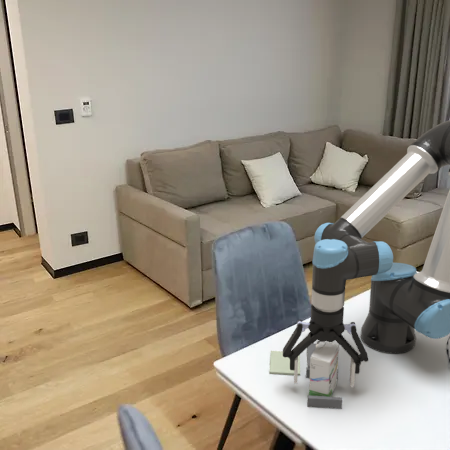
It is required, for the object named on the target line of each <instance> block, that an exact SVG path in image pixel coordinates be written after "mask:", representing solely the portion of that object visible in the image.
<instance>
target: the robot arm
mask: <svg viewBox="0 0 450 450" xmlns="http://www.w3.org/2000/svg"><path fill="white" fill-rule="evenodd" d="M406 150H407V151H406V154H405V155H404V156H403V157H401V159H399V160H398V162H397V163H396V164H395V165H393V167H392V168H391V169H389V171H388V172H386V173H385V174H384V175H383V176H382V177H380V179H379V180H378V181H377V182H376V183H374V185H373V186H372V187H370V188H369V189H368V191H367V192H365V193H364V194H363V195H362V196H361V197H360V198H359V199H358V200H357V201H356V202H355V203H354V204H353V205H352V206H351V207H350V208H349V209H347V210H346V212H344V214H342V215H341V217H339V219H337V220H336V221H335V222H325V223H322V224H321V225H319V227H317V228H316V231H315V232H314V237H313V238H314V243H315V244H314V248H313V256H312V260H311V261H312V280H311V281H312V283H311V285H312V286H311V300H310V301H311V305H310V306H311V307H310V321H309V322H304V321H303V320H302V319H298V320H297V321H296V322H297V323H296V328H294V331H293V332H292V334H291V336H290V337H289V339H288V341H287V342H286V344H285V345H284V347H283V349H282V351H283V357H288V358H289V359H290V370H294V375H293V384H295V385H297V384H298V356H299V355H300V356H301V354H302V353H304V351H305V350H307V347H309V346H310V345H311V344H313V343H314V344H315V342H317V341H319V342H324V341H325V342H328V343H333V342H336V343H337V345H339V346H341V348H342V349H343V350H344V351H345V352H346V354H347V355H348V356H349V357H350V369H349V385H350V387H351V388H355V377H356V375H359V374H360V372H361V371H360V370H361V365H362V362H365V363H367V362H368V361H369V356H368V352H367V350H366V348H365V346H364V344H365V345H366V346H367V347H369V348H371V349H373V350H375V351H378V352H382V353H386V354H405V353H407V352H410V351H411V350H413V348H414V347H415V346H416V339H417V337H416V336H417V335H416V332H417V333H418V334H419V333H420V334H422V335H424V336H425V337H427V338H430V339H433V340H435V339H436V340H437V339H441V338H444V337H447V336H448V335H450V189H449V191H448V192H447V195H446V199H445V201H444V205H443V208H442V210H441V212H440V213H441V214H440V216H439V220H438V223H437V226H436V229H435V232H434V235H433V237H432V240H431V243H430V246H429V249H428V251H427V255H426V258H425V260H424V264H423V266H422V270H421V271H420V272H417V268H416V266H414V265H411V264H408V263H403V262H394V254H393V251H392V249H391V247H390V245H389V244H388V243H386V242H385V241H380V240H379V241H372V242H367V241H366V240H364V239H362V238H364V237H365V235H367V234H368V233H369V232H370V231H371V230H372V229H373V228H374V227H375V226H376V225H377V224H378V223H379V222H380V221H382V220H383V218H385V216H387V214H388V213H390V211H392V210H393V209H394V208H395V207H396V206H397V205H398V204H399V203H400V202H401V201H402V200H403V199H404V198H405V197H406V196H407V195H409V193H410V192H411V191H413V190H414V188H416V187H417V186H418V185H419V184H420V183H421V182H422V181H423V180H425V178H426V177H427V176H428V175H429V174H430V175H431V174H432V175H434V174H436V173H437V172H439V170H440V169H441V168H443V167H445V166H450V119H448V120H446V121H443V122H441V123H439V124H436V125H435V126H433V127H432V128H430V129H428V130H427V131H425V132H424V133H422V134H421V135H420V136H419V137H418V138H417V139H416V140H414V141H413V142H412V143H411V144H410V145H409V146H408V147H407V149H406ZM448 176H450V168H449V169H448ZM365 277H371V278H370V292H369V294H370V295H369V308H368V313H367V316H366V318H365V320H364V322H363V324H362V327H361V331H360V336H359V334H358V332H357V331H358V330H357V325H356V323H355V321H351V322H350V323H348V324H347V323H345V324H344V316H345V315H344V312H345V311H344V310H345V308H344V306H345V297H346V294H345V293H346V285H347V281H348V280H354V279H359V278H365ZM306 329H308V330H309V332H308V334H307V335H306V336H305V337H304V338H303V339H302V340H300V342H298V340H299V339H300V338H301V336H302V333H303V332H305V331H306ZM345 331H347V333H348V334H350V335H351V339H352V340H353V342H354V344H355V346H356V348H357V350H358V352H359V353H358V352H357V350H356V349H355V348H354V347H353V346H352V345H351V344H350V342H349V341H348V340H347V339H346V338H345V337H344V336H343V333H344V332H345ZM415 331H416V332H415ZM363 343H364V344H363ZM296 344H297V345H296ZM295 345H296V346H295ZM355 374H356V375H355Z"/></svg>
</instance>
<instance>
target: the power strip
mask: <svg viewBox="0 0 450 450" xmlns="http://www.w3.org/2000/svg"><path fill="white" fill-rule="evenodd" d="M319 343H320V342H319V340H316V343H315V342H314V343H313V344H311V345H310V346H309V347H307V348H306V362H307V364H306V365H307V366H306V368H305V378H306V379H307V378H308V379H310V358H311V355H312V354H313V352H314V351H315V349H316V347H317V346H318V344H319ZM338 378H339V369H338V370H337V380H339V379H338ZM306 402H307V404H306V405H307V408H318V409H319V408H320V409H335V410H337V409H338V410H342V409H343V397H342V396H341V397H338V396H331V397H326V396H309V394H308V395H307V401H306Z"/></svg>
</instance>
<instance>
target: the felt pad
mask: <svg viewBox="0 0 450 450" xmlns="http://www.w3.org/2000/svg"><path fill="white" fill-rule="evenodd" d="M269 358H270V359H269V371H268V372H269V373H268V374H269V375H281V376H294V370H290V359H289V358H288V357H283V350H282V351H281V350H270V357H269ZM298 376H299V377H300V376H301V354H300V355H299V356H298Z"/></svg>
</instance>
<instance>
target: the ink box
mask: <svg viewBox="0 0 450 450" xmlns="http://www.w3.org/2000/svg"><path fill="white" fill-rule="evenodd" d="M339 352H340V345H339V344H336V343H335V344H334V343H333V342H327V341H324V342H320V343H319V344H318V346H317V347H316V349H315V351H314V352H313V354H312V355H311V358H310V378H309V379H308V380H309V386H308V395H309V396H326V397H332V395H333V393H334V391H335V389H336V387H337V383H338V382H337V381H338V379H337V370H338V371H339V369H338V368H339V366H338V365H339Z"/></svg>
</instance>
